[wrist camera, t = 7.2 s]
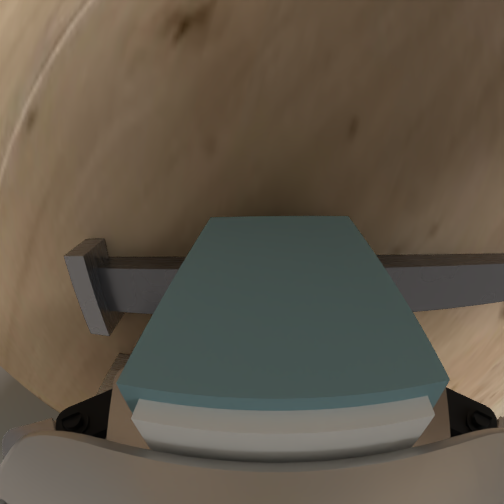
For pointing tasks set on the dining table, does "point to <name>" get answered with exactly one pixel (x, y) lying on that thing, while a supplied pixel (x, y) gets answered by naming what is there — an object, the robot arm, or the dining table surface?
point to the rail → (165, 268)
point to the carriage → (282, 349)
